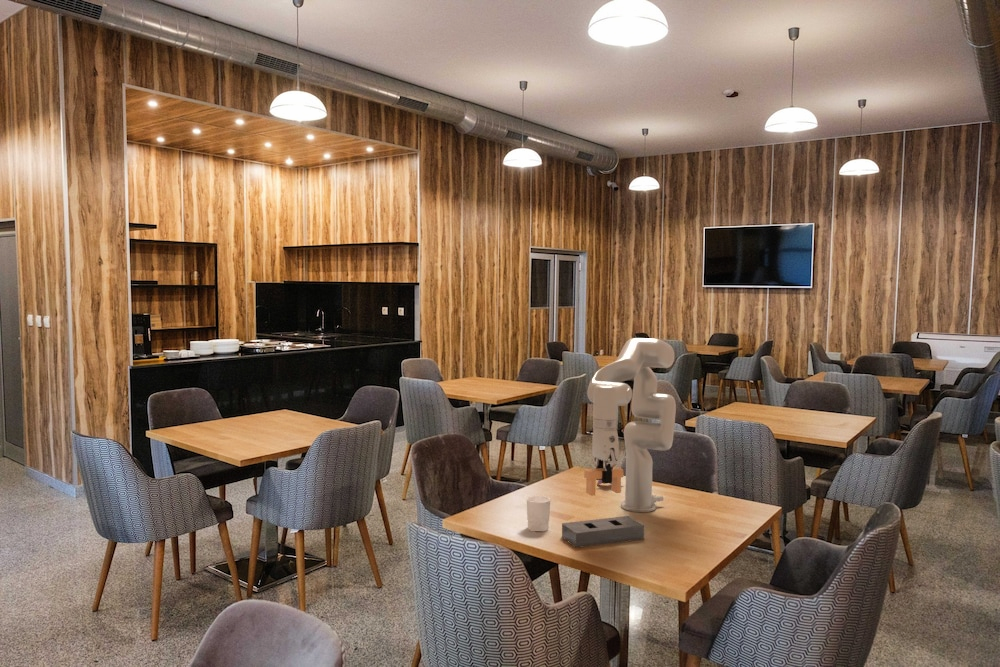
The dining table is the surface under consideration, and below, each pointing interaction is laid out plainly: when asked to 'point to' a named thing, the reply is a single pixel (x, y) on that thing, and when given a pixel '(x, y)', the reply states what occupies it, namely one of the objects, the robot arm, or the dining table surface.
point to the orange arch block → (597, 474)
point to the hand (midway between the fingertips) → (603, 480)
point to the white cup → (538, 513)
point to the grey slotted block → (602, 531)
